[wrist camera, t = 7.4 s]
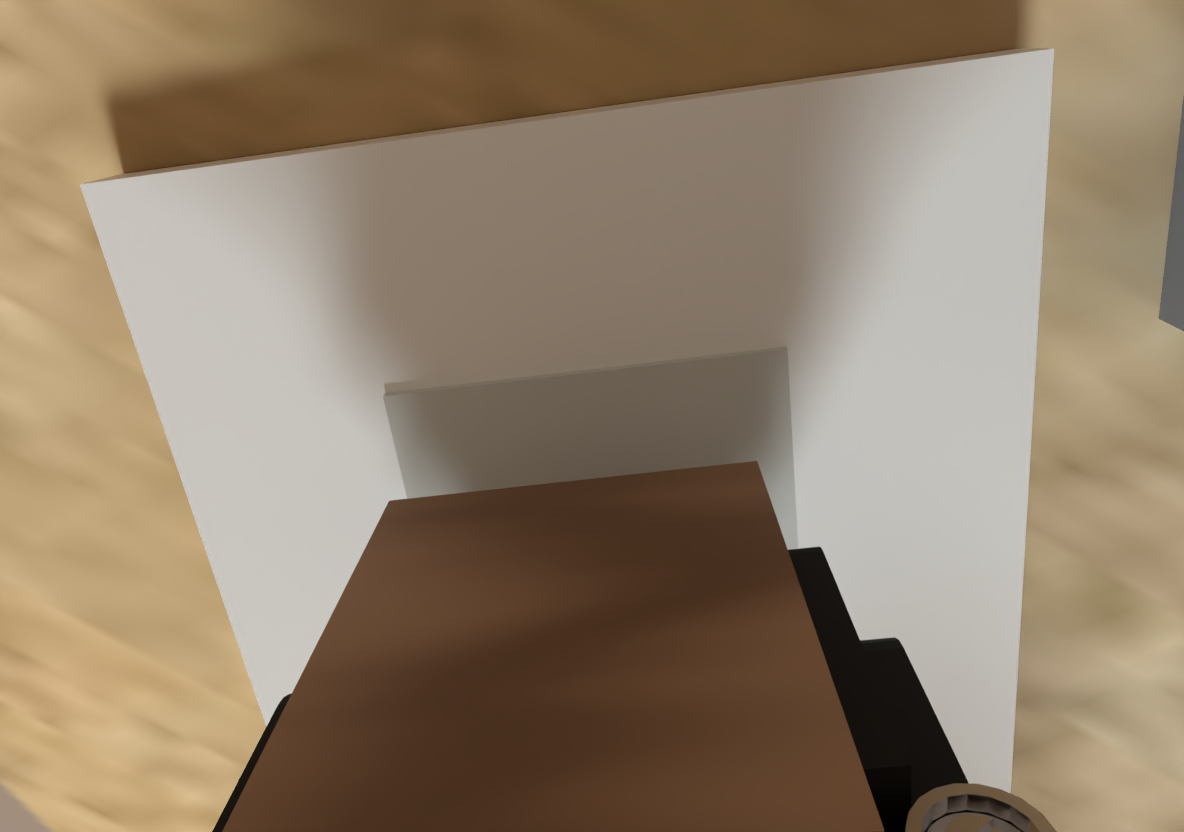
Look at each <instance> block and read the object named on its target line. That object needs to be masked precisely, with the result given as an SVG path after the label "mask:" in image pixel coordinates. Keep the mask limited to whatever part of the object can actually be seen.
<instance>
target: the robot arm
mask: <svg viewBox="0 0 1184 832" xmlns="http://www.w3.org/2000/svg"><path fill="white" fill-rule="evenodd" d="M788 552H789V555H790V558H791V561H792V564H793V567H794V569H795V572H796V575H797V578H798V581H799V584H800V587H801V590H802V593H803V596H804V598H805V601H806V604H807V607H808V610H809V613H810V616H811V619H812V622H813V625H814V628H815V630H816V633H817V636H818V639H819V642H820V645H821V648H822V651H823V654H824V657H825V659H826V662H827V665H828V668H829V671H830V674H831V677H832V680H833V683H834V686H835V689H836V691H837V694H838V697H839V700H840V703H841V706H842V709H843V712H844V715H845V718H846V720H847V723H848V726H849V729H850V732H851V735H852V738H853V741H854V744H855V747H856V750H857V752H858V755H859V758H860V761H861V764H862V767H863V770H864V773H865V776H866V779H867V781H868V784H869V787H870V790H871V793H872V796H873V799H874V802H875V805H876V808H877V811H878V813H879V816H880V819H881V822H882V825H883V828H884V832H1057V831H1056V830H1055V829H1054V828H1053V826H1052V825H1051V824H1050V823H1049V822H1048V820H1047V819H1046V818H1045V817H1044V815H1043V814H1042V813H1040V812H1039V811H1038V810H1036V809H1035V808H1034V807H1032V806H1031V805H1030V804H1028V803H1027V802H1026V801H1024V800H1023V799H1021V798H1019V797H1017V796H1014V795H1012V794H1010V793H1008V792H1006V791H1003V790H1001V789H998V788H994V787H989V786H985V785H981V784H969V783H968V780H967V778H966V776H965V774H964V772H963V770H962V768H961V766H960V764H959V762H958V760H957V758H956V755H955V753H954V751H953V749H952V747H951V745H950V743H949V741H948V739H947V737H946V735H945V733H944V731H943V728H942V726H941V724H940V722H939V720H938V718H937V716H936V714H935V712H934V710H933V708H932V706H931V703H930V701H929V699H928V697H927V695H926V693H925V691H924V689H923V687H922V685H921V683H920V681H919V678H918V676H917V674H916V672H915V670H914V668H913V666H912V664H911V662H910V660H909V658H908V656H907V653H906V651H905V649H904V647H903V646H902V644H901V642H900V641H899V640H898V639H897V638H895V637H893V638H882V639H871V640H860V639H859V637H858V634H857V632H856V630H855V627H854V625H853V622H852V620H851V617H850V615H849V613H848V610H847V608H846V605H845V603H844V600H843V598H842V596H841V593H840V591H839V588H838V586H837V583H836V581H835V579H834V576H833V574H832V571H831V569H830V566H829V564H828V562H827V559H826V557H825V554H824V552H823V550H822V548H821V547H810V548H800V549H790V550H788ZM290 696H291V694H288V695H287V696H285V697H283V699H282V700H281V701H280V703H279V704H278V706H277V708H276V710H275V711H274V713H273V715H272V717H271V719H270V721H269V723H268V725H267V727H266V729H265V731H264V733H263V735H262V737H261V739H260V740H259V742H258V744H257V746H256V748H255V750H254V752H253V754H252V756H251V758H250V760H249V762H248V764H247V766H246V768H245V769H244V771H243V773H242V775H241V777H240V779H239V781H238V783H237V785H236V787H235V789H234V791H233V793H232V795H231V797H230V799H229V800H228V802H227V804H226V806H225V808H224V810H223V812H222V814H221V816H220V818H219V820H218V822H217V824H216V826H215V828H214V829H213V831H212V832H222V831H223V829H224V827H225V825H226V823H227V821H228V819H229V817H230V815H231V813H232V811H233V809H234V807H235V805H236V803H237V801H238V799H239V797H240V795H241V793H242V791H243V789H244V787H245V785H246V783H247V781H248V779H249V777H250V775H251V773H252V771H253V769H254V767H255V765H256V764H257V762H258V760H259V758H260V756H261V754H262V752H263V750H264V748H265V746H266V744H267V742H268V740H269V738H270V736H271V734H272V732H273V730H274V728H275V726H276V724H277V722H278V720H279V718H280V716H281V714H282V712H283V710H284V708H285V706H286V704H287V702H288V700H289V698H290Z"/></svg>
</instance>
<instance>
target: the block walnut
mask: <svg viewBox="0 0 1184 832" xmlns="http://www.w3.org/2000/svg"><path fill="white" fill-rule="evenodd" d="M222 832H884V828H883V825H882V822H881V819H880V816H879V813H878V811H877V808H876V805H875V802H874V799H873V796H872V793H871V790H870V787H869V784H868V781H867V779H866V776H865V773H864V770H863V767H862V764H861V761H860V758H859V755H858V752H857V750H856V747H855V744H854V741H853V738H852V735H851V732H850V729H849V726H848V723H847V720H846V718H845V715H844V712H843V709H842V706H841V703H840V700H839V697H838V694H837V691H836V689H835V686H834V683H833V680H832V677H831V674H830V671H829V668H828V665H827V662H826V659H825V657H824V654H823V651H822V648H821V645H820V642H819V639H818V636H817V633H816V630H815V628H814V625H813V622H812V619H811V616H810V613H809V610H808V607H807V604H806V601H805V598H804V596H803V593H802V590H801V587H800V584H799V581H798V578H797V575H796V572H795V569H794V567H793V564H792V561H791V558H790V555H789V552H788V549H787V546H786V543H785V540H784V537H783V535H782V532H781V529H780V526H779V523H778V520H777V517H776V514H775V511H774V508H773V506H772V503H771V500H770V497H769V494H768V491H767V488H766V485H765V482H764V479H763V477H762V474H761V471H760V468H759V465H758V462H757V461H751V462H741V463H732V464H723V465H714V466H704V467H695V468H686V469H677V470H668V471H658V472H649V473H640V474H631V475H621V476H612V477H603V478H594V479H584V480H575V481H566V482H557V483H548V484H538V485H529V486H520V487H511V488H501V489H492V490H483V491H474V492H464V493H455V494H446V495H437V496H428V497H418V498H409V499H400V500H391V501H389V502H388V504H387V506H386V508H385V510H384V512H383V514H382V516H381V518H380V520H379V522H378V524H377V526H376V528H375V530H374V532H373V534H372V536H371V538H370V540H369V542H368V544H367V546H366V548H365V549H364V551H363V553H362V555H361V557H360V559H359V561H358V563H357V565H356V567H355V569H354V571H353V573H352V575H351V577H350V579H349V581H348V583H347V585H346V587H345V589H344V591H343V593H342V595H341V597H340V599H339V601H338V603H337V605H336V607H335V609H334V611H333V613H332V615H331V617H330V619H329V621H328V623H327V625H326V627H325V629H324V631H323V633H322V635H321V637H320V639H319V641H318V643H317V645H316V647H315V649H314V651H313V653H312V655H311V656H310V658H309V660H308V662H307V664H306V666H305V668H304V670H303V672H302V674H301V676H300V678H299V680H298V682H297V684H296V686H295V688H294V690H293V692H292V694H291V696H290V698H289V700H288V702H287V704H286V706H285V708H284V710H283V712H282V714H281V716H280V718H279V720H278V722H277V724H276V726H275V728H274V730H273V732H272V734H271V736H270V738H269V740H268V742H267V744H266V746H265V748H264V750H263V752H262V754H261V756H260V758H259V760H258V762H257V764H256V765H255V767H254V769H253V771H252V773H251V775H250V777H249V779H248V781H247V783H246V785H245V787H244V789H243V791H242V793H241V795H240V797H239V799H238V801H237V803H236V805H235V807H234V809H233V811H232V813H231V815H230V817H229V819H228V821H227V823H226V825H225V827H224V829H223V831H222Z"/></svg>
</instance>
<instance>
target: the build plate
mask: <svg viewBox="0 0 1184 832" xmlns="http://www.w3.org/2000/svg"><path fill="white" fill-rule="evenodd" d="M1053 59H1054V48H1037V49H1012V50H1004V51H997V52H990V53H983V54H976V55H969V56H962V57H954V58H947V59H940V60H933V61H926V62H919V63H912V64H904V65H897V66H890V67H883V68H876V69H869V70H862V71H855V72H847V73H840V74H833V75H826V76H819V77H812V78H805V79H797V80H790V81H783V82H776V83H769V84H762V85H755V86H747V87H740V88H733V89H726V90H719V91H712V92H705V93H697V94H690V95H683V96H676V97H669V98H662V99H655V100H647V101H640V102H633V103H626V104H619V105H612V106H605V107H597V108H590V109H583V110H576V111H569V112H562V113H555V114H548V115H540V116H533V117H526V118H519V119H512V120H505V121H498V122H490V123H483V124H476V125H469V126H462V127H455V128H448V129H440V130H433V131H426V132H419V133H412V134H405V135H398V136H390V137H383V138H376V139H369V140H362V141H355V142H348V143H340V144H333V145H326V146H319V147H312V148H305V149H298V150H291V151H283V152H276V153H269V154H262V155H255V156H248V157H241V158H233V159H226V160H219V161H212V162H205V163H198V164H191V165H183V166H176V167H169V168H162V169H155V170H148V171H141V172H133V173H126V174H120V175H116V176H112V177H108V178H104V179H100V180H96V181H92V182H88V183H84V184H80V187H81V190H82V193H83V196H84V198H85V201H86V204H87V207H88V210H89V213H90V216H91V219H92V222H93V225H94V228H95V230H96V233H97V236H98V239H99V242H100V245H101V248H102V251H103V254H104V257H105V259H106V262H107V265H108V268H109V271H110V274H111V277H112V280H113V283H114V286H115V288H116V291H117V294H118V297H119V300H120V303H121V306H122V309H123V312H124V315H125V318H126V320H127V323H128V326H129V329H130V332H131V335H132V338H133V341H134V344H135V347H136V349H137V352H138V355H139V358H140V361H141V364H142V367H143V370H144V373H145V376H146V379H147V381H148V384H149V387H150V390H151V393H152V396H153V399H154V402H155V405H156V408H157V410H158V413H159V416H160V419H161V422H162V425H163V428H164V431H165V434H166V437H167V440H168V442H169V445H170V448H171V451H172V454H173V457H174V460H175V463H176V466H177V469H178V471H179V474H180V477H181V480H182V483H183V486H184V489H185V492H186V495H187V498H188V500H189V503H190V506H191V509H192V512H193V515H194V518H195V521H196V524H197V527H198V530H199V532H200V535H201V538H202V541H203V544H204V547H205V550H206V553H207V556H208V559H209V561H210V564H211V567H212V570H213V573H214V576H215V579H216V582H217V585H218V588H219V591H220V593H221V596H222V599H223V602H224V605H225V608H226V611H227V614H228V617H229V620H230V622H231V625H232V628H233V631H234V634H235V637H236V640H237V643H238V646H239V649H240V652H241V654H242V657H243V660H244V663H245V666H246V669H247V672H248V675H249V678H250V681H251V683H252V686H253V689H254V692H255V695H256V698H257V701H258V704H259V707H260V710H261V712H262V715H263V718H264V721H265V724H266V727H267V725H268V723H269V721H270V719H271V717H272V715H273V713H274V711H275V710H276V708H277V706H278V704H279V703H280V701H281V700H282V699H283V697H285V696H287V695H288V694H292V692H293V690H294V688H295V686H296V684H297V682H298V680H299V678H300V676H301V674H302V672H303V670H304V668H305V666H306V664H307V662H308V660H309V658H310V656H311V655H312V653H313V651H314V649H315V647H316V645H317V643H318V641H319V639H320V637H321V635H322V633H323V631H324V629H325V627H326V625H327V623H328V621H329V619H330V617H331V615H332V613H333V611H334V609H335V607H336V605H337V603H338V601H339V599H340V597H341V595H342V593H343V591H344V589H345V587H346V585H347V583H348V581H349V579H350V577H351V575H352V573H353V571H354V569H355V567H356V565H357V563H358V561H359V559H360V557H361V555H362V553H363V551H364V549H365V548H366V546H367V544H368V542H369V540H370V538H371V536H372V534H373V532H374V530H375V528H376V526H377V524H378V522H379V520H380V518H381V516H382V514H383V512H384V510H385V508H386V506H387V504H388V502H389V501H391V500H400V499H409V498H418V497H428V496H437V495H446V494H455V493H464V492H474V491H483V490H492V489H501V488H511V487H520V486H529V485H538V484H548V483H557V482H566V481H575V480H584V479H594V478H603V477H612V476H621V475H631V474H640V473H649V472H658V471H668V470H677V469H686V468H695V467H704V466H714V465H723V464H732V463H741V462H751V461H757V462H758V465H759V468H760V471H761V474H762V477H763V479H764V482H765V485H766V488H767V491H768V494H769V497H770V500H771V503H772V506H773V508H774V511H775V514H776V517H777V520H778V523H779V526H780V529H781V532H782V535H783V537H784V540H785V543H786V546H787V549H788V550H790V549H800V548H810V547H821V548H822V550H823V552H824V554H825V557H826V559H827V562H828V564H829V566H830V569H831V571H832V574H833V576H834V579H835V581H836V583H837V586H838V588H839V591H840V593H841V596H842V598H843V600H844V603H845V605H846V608H847V610H848V613H849V615H850V617H851V620H852V622H853V625H854V627H855V630H856V632H857V634H858V637H859V639H860V640H871V639H882V638H893V637H895V638H897V639H898V640H899V641H900V642H901V644H902V646H903V647H904V649H905V651H906V653H907V656H908V658H909V660H910V662H911V664H912V666H913V668H914V670H915V672H916V674H917V676H918V678H919V681H920V683H921V685H922V687H923V689H924V691H925V693H926V695H927V697H928V699H929V701H930V703H931V706H932V708H933V710H934V712H935V714H936V716H937V718H938V720H939V722H940V724H941V726H942V728H943V731H944V733H945V735H946V737H947V739H948V741H949V743H950V745H951V747H952V749H953V751H954V753H955V755H956V758H957V760H958V762H959V764H960V766H961V768H962V770H963V772H964V774H965V776H966V778H967V780H968V783H969V784H981V785H985V786H989V787H994V788H998V789H1001V790H1003V791H1006V792H1008V793H1010V794H1011V778H1012V761H1013V743H1014V726H1015V709H1016V692H1017V675H1018V658H1019V641H1020V624H1021V606H1022V589H1023V572H1024V555H1025V538H1026V521H1027V504H1028V487H1029V469H1030V452H1031V435H1032V418H1033V401H1034V384H1035V367H1036V350H1037V332H1038V315H1039V298H1040V281H1041V264H1042V247H1043V230H1044V213H1045V196H1046V178H1047V161H1048V144H1049V127H1050V110H1051V93H1052V76H1053Z"/></svg>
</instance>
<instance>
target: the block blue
mask: <svg viewBox="0 0 1184 832" xmlns="http://www.w3.org/2000/svg"><path fill="white" fill-rule="evenodd" d="M1159 319H1160V320H1162V321H1165V322H1167V323H1169V324H1171V325H1173V326H1175V327H1177V328H1179V329H1181V330H1183V331H1184V98H1183V107H1182V116H1181V125H1180V134H1179V143H1178V152H1177V161H1176V170H1175V179H1174V188H1173V197H1172V206H1171V214H1170V223H1169V232H1168V241H1167V250H1166V259H1165V268H1164V277H1163V286H1162V295H1161V304H1160V313H1159Z"/></svg>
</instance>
